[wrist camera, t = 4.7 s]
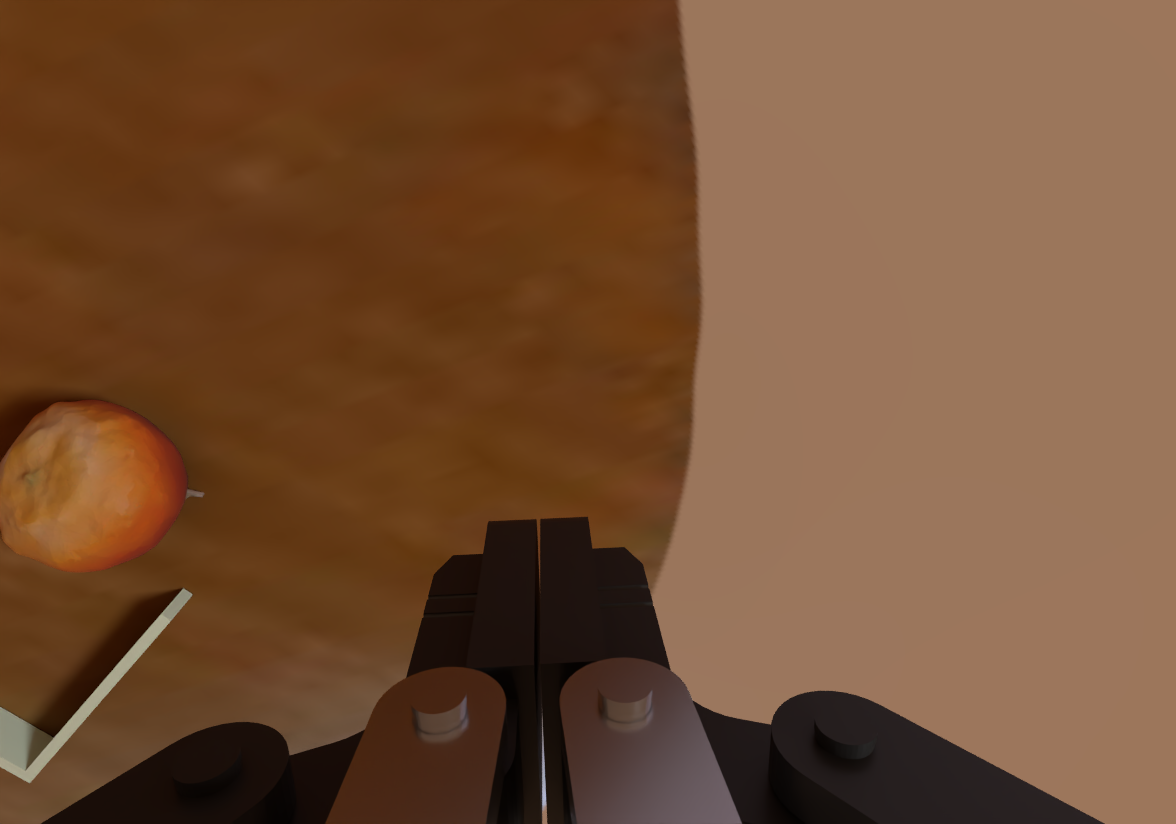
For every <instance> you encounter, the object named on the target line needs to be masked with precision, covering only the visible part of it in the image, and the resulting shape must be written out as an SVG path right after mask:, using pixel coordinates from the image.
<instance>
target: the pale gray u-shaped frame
mask: <svg viewBox="0 0 1176 824" xmlns="http://www.w3.org/2000/svg"><path fill="white" fill-rule="evenodd" d="M192 595H193V594H191V593H190V592H188V591H187V590H185V589H184V588H183V589H182V590H181V592H180V593H179V594H178V595H177V596H176V597H175V599H174V600H173V601H172V602H171V603H170V604H169V605H168V607H167V608H166V609H165V610H164V611H163V612H162V613H161V615H160V616H159V617H158V618H157V619H156V620H155V622H154V623H153V624H152V625H151V626H150V627H149V628H148V630H147V631H146V632H145V633H144V634H143V635H142V637H141V638H140V639H139V640H138V641H137V642H136V644H135V645H134V646H133V647H132V648H131V649H130V650H129V652H128V653H127V654H126V655H125V656H124V657H123V659H122V660H121V661H120V662H119V663H118V664H117V666H116V667H115V668H114V669H113V670H112V671H111V672H110V674H109V675H108V676H107V677H106V678H105V679H104V681H103V682H102V683H101V684H100V685H99V686H98V688H97V689H96V690H95V691H94V692H93V693H92V694H91V696H90V697H89V698H88V699H87V700H86V701H85V703H84V704H83V705H82V706H81V707H80V708H79V710H78V711H77V712H76V713H75V714H74V715H73V716H72V718H71V719H70V720H69V721H68V722H67V723H66V725H65V726H64V727H63V728H62V729H61V730H60V732H59V733H58V734H57V735H56V736H55V737H54V738H53V737H52V736H50V735H48V734H46V733H45V732H43V731H41V730H39V729H38V728H36V727H34V726H33V725H31V724H29V723H27V722H26V721H24V720H22V719H20V718H19V717H17V716H15V715H13V714H12V713H10V712H8V711H6V710H5V709H3V708H1V707H0V767H1V768H3V769H5V770H7V771H9V772H10V773H12V774H14V775H16V776H18V777H19V778H21V779H23V780H25V781H27V782H29V783H30V782H31V781H32V780H33V779H34V778H35V777H36V775H37V774H38V773H39V772H40V771H41V770H42V768H43V767H44V766H45V765H46V764H47V763H48V762H49V760H50V759H51V758H52V757H53V756H54V755H55V754H56V752H57V751H58V750H59V749H60V748H61V747H62V745H63V744H64V743H65V742H66V741H67V740H68V739H69V737H70V736H71V735H72V734H73V733H74V732H75V731H76V729H77V728H78V727H79V726H80V725H81V724H82V722H83V721H84V720H85V719H86V718H87V717H88V716H89V714H90V713H91V712H92V711H93V710H94V709H95V708H96V706H97V705H98V704H99V703H100V702H101V701H102V699H103V698H104V697H105V696H106V695H107V694H108V693H109V691H110V690H111V689H112V688H113V687H114V686H115V685H116V683H117V682H118V681H119V680H120V679H121V678H122V676H123V675H124V674H125V673H126V672H127V671H128V670H129V668H130V667H131V666H132V665H133V664H134V663H135V662H136V660H137V659H138V658H139V657H140V656H141V655H142V653H143V652H144V651H145V650H146V649H147V648H148V647H149V645H150V644H151V643H152V642H153V641H154V640H155V639H156V637H157V636H158V635H159V634H160V633H161V632H162V630H163V629H164V628H165V627H166V626H167V625H168V624H169V622H170V621H171V620H172V619H173V618H174V617H175V615H176V614H177V613H178V612H179V611H180V609H181V608H182V607H183V606H184V605H185V603H186V602H187V601H188V600H189V599H190V597H191V596H192Z"/></svg>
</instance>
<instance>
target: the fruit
mask: <svg viewBox="0 0 1176 824" xmlns="http://www.w3.org/2000/svg"><path fill="white" fill-rule="evenodd" d="M202 495H204V493H203V492H198V491H193V490H190V489H188V475H187V472H186V469H185V467H184V464H183V461H182V457H181V455H180V453H179V451H178V450H177V448H176V446H175V445H174V444H173V442H172V441H171V440H170V439H169V438H168V437H167V436H166V435H165V434H164V433H163V432H162V431H161V430H159V429H158V428H157V427H156V426H155V425H154V424H152V423H151V422H150V421H149V420H148V419H146V418H145V417H143V416H141V415H139V414H137V413H135V412H134V411H131V410H129V409H127V408H125V407H122V406H119V405H116V404H113V403H109V402H105V401H101V400H80V401H75V402H62V401H61V402H56V403H53V404H52V405H50V406H49V407H48V408H47V409H45V410H44V411H42V412H40V413H38V414H37V415H35V416H34V417H33V418H32V419H31V421H30V422H29V424H28V425H27V426H26V427H25V429H24V430H23V431H22V433H21V434H20V435H19V436H18V438H17V439H16V440H15V442H14V443H13V444H12V446H11V447H10V449H9V450H8V451H7V453H6V454H5V456H4V457H3V459H2V460H1V462H0V530H1V533H2V540H3V541H4V543H5V544H6V545H7V546H8V547H10V548H11V549H12V550H13V551H14V552H15V553H17V554H18V555H23V556H27V557H30V558H32V559H34V560H37V561H39V562H41V563H43V564H45V565H48V566H50V567H53V568H56V569H59V570H62V571H66V572H92V571H99V570H104V569H108V568H110V567H113V566H116V565H118V564H121V563H124V562H127V561H129V560H132V559H134V558H137V557H139V556H141V555H143V554H145V553H146V552H148V551H149V550H151V549H152V548H154V547H155V546H156V545H157V544H158V543H159V542H160V540H161V539H162V538H163V536H164V535H165V534H166V533H167V531H168V530H169V529H170V527H171V526H172V525H173V523H174V522H175V520H176V519H177V517H178V515H179V513H180V511H181V509H182V506H183V504H184V502H185V499H186V498H188V497H190V496H196V497H203V496H202Z"/></svg>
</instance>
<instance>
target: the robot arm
mask: <svg viewBox="0 0 1176 824" xmlns="http://www.w3.org/2000/svg"><path fill="white" fill-rule="evenodd" d="M542 715H543V736H544V758H545V780H546V802H547V823H548V824H1104V823H1102V822H1100V821H1098V820H1097V819H1095V818H1093V817H1091V816H1089V815H1087V814H1085V813H1083V812H1081V811H1080V810H1078V809H1076V808H1074V807H1072V806H1070V805H1068V804H1066V803H1064V802H1062V801H1061V800H1059V799H1057V798H1055V797H1053V796H1051V795H1049V794H1047V793H1045V792H1043V791H1042V790H1040V789H1038V788H1036V787H1034V786H1032V785H1030V784H1028V783H1027V782H1025V781H1023V780H1021V779H1019V778H1017V777H1015V776H1013V775H1011V774H1009V773H1008V772H1006V771H1004V770H1002V769H1000V768H998V767H996V766H994V765H993V764H990V763H989V762H987V761H985V760H983V759H981V758H979V757H977V756H976V755H974V754H972V753H970V752H968V751H966V750H964V749H962V748H960V747H959V746H957V745H955V744H953V743H951V742H949V741H947V740H945V739H943V738H941V737H940V736H937V735H936V734H934V733H932V732H930V731H928V730H926V729H924V728H922V727H921V726H919V725H917V724H915V723H913V722H911V721H909V720H907V719H906V718H904V717H902V716H900V715H898V714H896V713H894V712H892V711H890V710H888V709H887V708H885V707H883V706H881V705H879V704H877V703H874V702H872V701H870V700H868V699H865V698H862V697H859V696H856V695H852V694H848V693H843V692H836V691H814V692H807V693H803V694H800V695H797V696H795V697H792V698H790V699H789V700H787V701H786V702H784V703H783V704H782V705H781V706H780V707H779V708H778V709H777V711H776V712H775V714H774V716H773V720H772V723H771V725H770V724H764V723H759V722H753V721H748V720H742V719H737V718H733V717H728V716H724V715H722V714H719V713H716V712H713V711H711V710H709V709H707V708H704V707H702V706H701V705H699V704H698V703H696V702H694V701H693V700H692V698H691V696H690V693H689V691H688V690H687V687H686V685H685V684H684V682H682V680H681V679H680V678H679V677H678V676H677V675H676V674H674V673H673V672H672V671H671V670H670V666H669V662H668V658H667V655H666V651H665V647H664V644H663V640H662V636H661V632H660V628H659V624H658V620H657V617H656V613H655V609H654V606H653V601H652V597H651V594H650V590H649V589H648V582H647V578H646V575H645V571H644V567H643V564H642V563H641V562H640V561H639V560H638V559H637V558H636V557H634V556H633V555H632V554H631V553H630V552H629V551H628V550H627V549H626V548H624V547H619V548H598V549H592V543H591V536H590V529H589V522H588V517H574V518H551V519H540V582H539V560H538V537H537V521H536V519H532V520H509V521H489V522H488V526H487V533H486V539H485V546H484V552H483V554H472V555H453V556H452V557H451V558H450V559H449V560H448V561H447V562H446V563H445V564H444V565H443V566H442V567H441V568H440V569H439V570H438V571H437V572H436V573H435V574H434V576H433V580H432V584H431V588H430V591H429V595H428V600H427V602H426V606H425V610H424V618H422V621H421V625H420V628H419V632H418V636H417V640H416V643H415V647H414V651H413V654H412V658H411V662H410V666H409V669H408V673H407V677H406V678H405V679H403V680H402V681H400V682H398V683H397V684H395V685H394V686H392V687H391V688H390V689H389V690H388V691H387V692H386V693H384V694H383V696H382V697H381V698H380V699H379V701H378V702H377V704H376V706H375V708H374V709H373V712H372V714H371V717H370V719H369V721H368V724H367V726H366V728H365V730H363V731H361V732H359V733H357V734H355V735H353V736H351V737H348V738H346V739H343V740H340V741H337V742H335V743H331V744H328V745H324V746H321V747H318V748H314V749H311V750H307V751H304V752H300V753H297V754H294V755H290V756H289V750H288V746H287V742H286V741H285V739H284V737H283V736H282V735H281V734H280V733H279V732H278V731H277V730H275V729H273V728H271V727H269V726H266V725H263V724H259V723H251V722H235V723H227V724H221V725H217V726H213V727H209V728H206V729H203V730H200V731H197V732H195V733H193V734H191V735H188V736H186V737H184V738H182V739H180V740H178V741H177V742H175V743H173V744H171V745H169V746H168V747H166V748H164V749H163V750H161V751H160V752H158V753H156V754H155V755H153V756H151V757H150V758H148V759H146V760H145V761H143V762H141V763H140V764H138V765H137V766H135V767H133V768H132V769H130V770H128V771H127V772H125V773H123V774H122V775H120V776H118V777H117V778H115V779H113V780H112V781H110V782H109V783H107V784H105V785H104V786H102V787H100V788H99V789H97V790H95V791H94V792H92V793H90V794H89V795H87V796H85V797H84V798H82V799H81V800H79V801H77V802H76V803H74V804H72V805H71V806H69V807H67V808H66V809H64V810H62V811H61V812H59V813H57V814H56V815H54V816H53V817H51V818H49V819H48V820H46V821H44V822H43V823H41V824H542Z"/></svg>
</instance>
